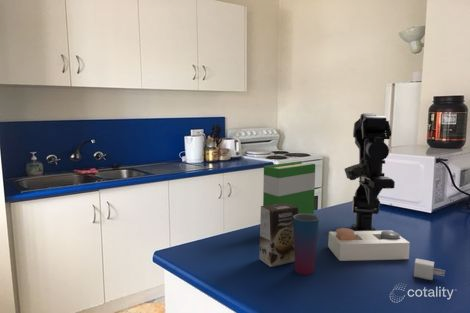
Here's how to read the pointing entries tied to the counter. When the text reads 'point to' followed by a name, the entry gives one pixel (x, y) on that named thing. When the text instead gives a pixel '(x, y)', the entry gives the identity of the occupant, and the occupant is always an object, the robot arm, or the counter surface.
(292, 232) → the brown cookie box
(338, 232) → the terracotta plunger
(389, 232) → the charcoal plunger
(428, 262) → the usb wall charger
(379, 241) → the tray
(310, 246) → the cup
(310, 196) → the hardback book
